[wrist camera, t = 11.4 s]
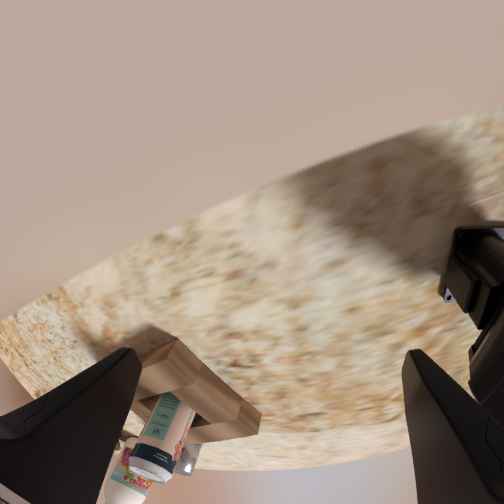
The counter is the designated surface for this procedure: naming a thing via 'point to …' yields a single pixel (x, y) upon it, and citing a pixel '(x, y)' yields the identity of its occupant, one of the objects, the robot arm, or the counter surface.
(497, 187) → the counter surface
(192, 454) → the short steel pin
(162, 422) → the beer can
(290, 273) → the counter surface
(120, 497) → the milk bottle
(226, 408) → the walnut collar
